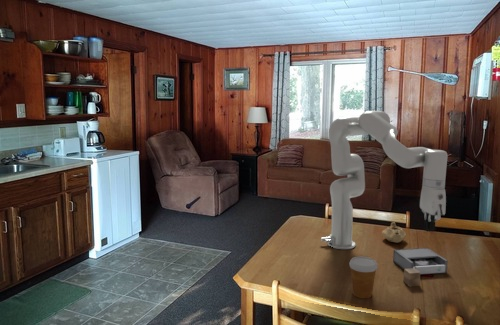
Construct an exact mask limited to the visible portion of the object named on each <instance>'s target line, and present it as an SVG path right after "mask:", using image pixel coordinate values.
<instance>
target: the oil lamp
mask: <svg viewBox="0 0 500 325" xmlns="http://www.w3.org/2000/svg"><path fill="white" fill-rule="evenodd" d="M381 235H382V236H383V237H384V238H385V239H386V240H387V241H388V242H391V243H396V244H397V243H398V244H399V243H400V242H402V241H403V240H405V239H406V238H407V233H406V231H405V230H403V228H402V227H400V226H397V225H396V222H395V221H392V222H391V223H390V226H388V227H386V228H384V229H382V232H381Z"/></svg>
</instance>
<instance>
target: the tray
mask: <svg viewBox="0 0 500 325" xmlns="http://www.w3.org/2000/svg"><path fill="white" fill-rule="evenodd" d="M427 259H429V265H428V266H413V268H415V269H416V270H417V271H419V272H420V275H429V274H428V273H435V274H444V273H443V272H445V265H444V264H443V265H439V264H438V263H436V262H435V261H433V260H432V259H430V258H427ZM409 260H411V259H409Z"/></svg>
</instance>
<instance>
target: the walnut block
mask: <svg viewBox="0 0 500 325" xmlns="http://www.w3.org/2000/svg"><path fill="white" fill-rule="evenodd" d="M403 283H404V284H406V285H407V286H408V287H420V283H421V274H420V272H419V271H417V270H416V269H415V268H410V269H403Z"/></svg>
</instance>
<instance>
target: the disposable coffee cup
mask: <svg viewBox="0 0 500 325" xmlns="http://www.w3.org/2000/svg"><path fill="white" fill-rule="evenodd" d="M348 265H349V268H350V277H351V286H352V294H353V296H354V297H357V298H360V299H369V298H371V297H372V294H373V290H374V285H375V278H376V274H377V270H378V266H379V265H378V263H377V261H376V260H375V259H374V258H371V257H367V256H354V257H352V258H351V259H350V261H349V263H348Z"/></svg>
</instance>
